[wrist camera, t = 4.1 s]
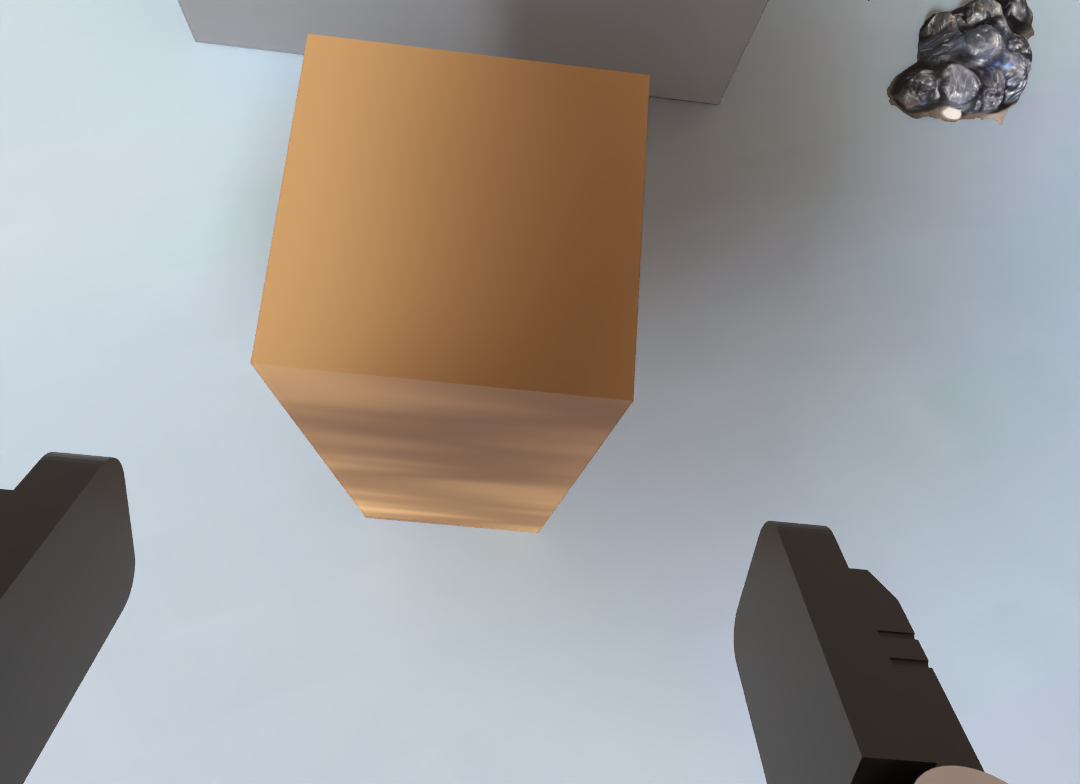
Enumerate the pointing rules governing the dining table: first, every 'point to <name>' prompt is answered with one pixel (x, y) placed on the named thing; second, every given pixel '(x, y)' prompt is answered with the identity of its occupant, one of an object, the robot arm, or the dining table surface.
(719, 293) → the dining table surface
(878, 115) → the dining table surface
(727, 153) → the dining table surface
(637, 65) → the socket block
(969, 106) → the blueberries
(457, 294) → the wooden peg
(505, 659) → the dining table surface
